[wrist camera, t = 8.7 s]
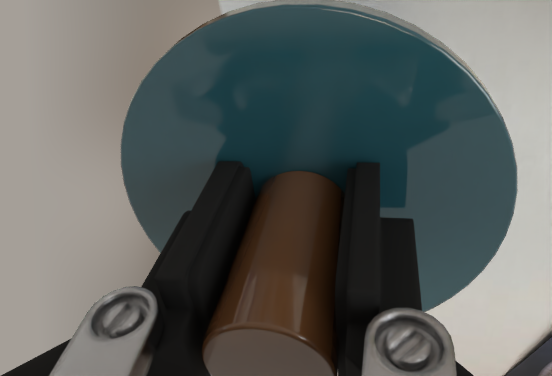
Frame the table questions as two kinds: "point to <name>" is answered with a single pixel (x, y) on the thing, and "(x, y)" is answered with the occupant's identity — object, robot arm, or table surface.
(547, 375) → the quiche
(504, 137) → the lid
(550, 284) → the table surface
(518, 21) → the table surface
